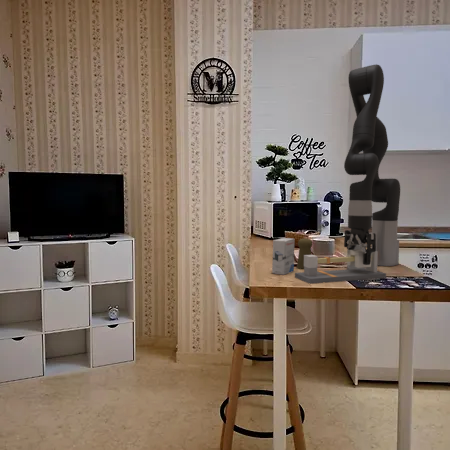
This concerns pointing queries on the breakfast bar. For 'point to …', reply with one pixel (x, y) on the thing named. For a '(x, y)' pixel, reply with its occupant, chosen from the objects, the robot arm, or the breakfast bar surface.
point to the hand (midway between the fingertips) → (358, 262)
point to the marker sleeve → (357, 258)
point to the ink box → (283, 256)
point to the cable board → (316, 276)
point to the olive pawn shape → (303, 251)
